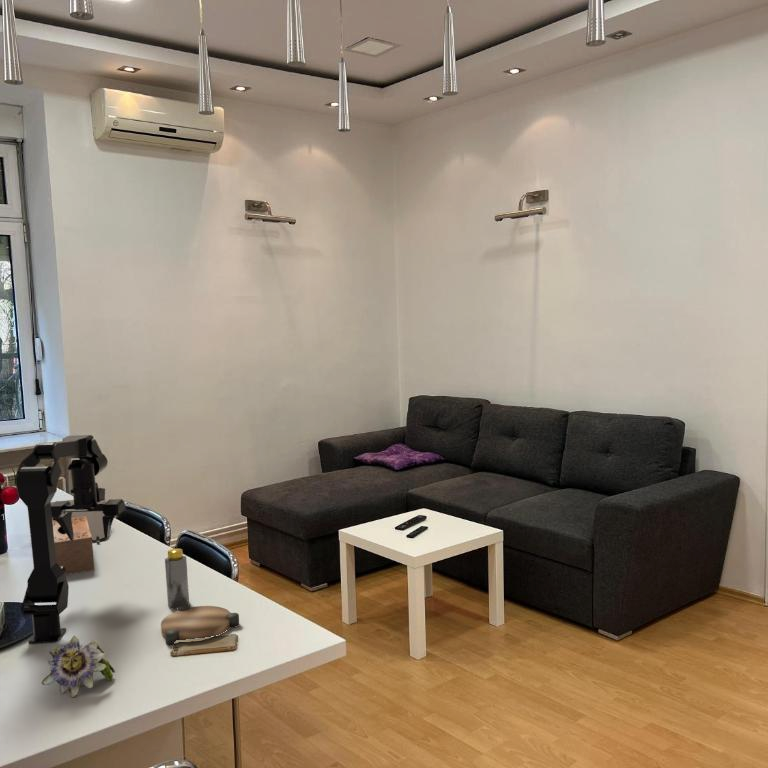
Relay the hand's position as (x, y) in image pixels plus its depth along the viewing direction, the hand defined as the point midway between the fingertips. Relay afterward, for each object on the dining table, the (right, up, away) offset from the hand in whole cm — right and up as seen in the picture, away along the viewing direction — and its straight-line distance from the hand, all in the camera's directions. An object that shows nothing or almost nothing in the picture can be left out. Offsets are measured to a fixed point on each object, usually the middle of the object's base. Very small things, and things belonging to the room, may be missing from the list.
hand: (89, 539), depth 205 cm
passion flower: (+17, -20, -50) cm, 56 cm away
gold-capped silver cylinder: (+26, -15, -9) cm, 31 cm away
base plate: (+34, -16, -24) cm, 44 cm away
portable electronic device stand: (-26, -11, +52) cm, 59 cm away
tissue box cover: (-18, -13, +29) cm, 36 cm away
